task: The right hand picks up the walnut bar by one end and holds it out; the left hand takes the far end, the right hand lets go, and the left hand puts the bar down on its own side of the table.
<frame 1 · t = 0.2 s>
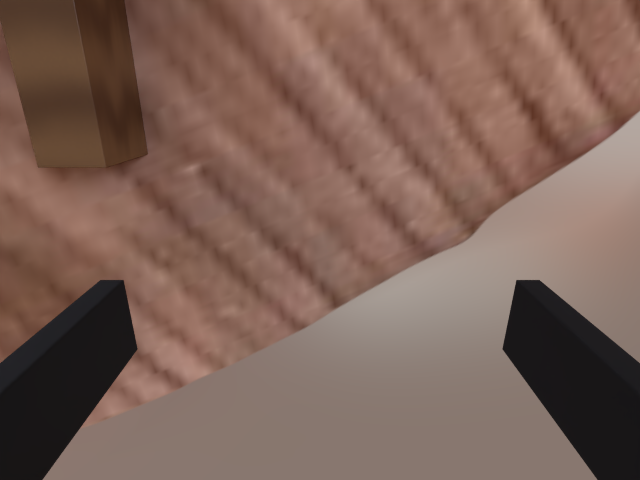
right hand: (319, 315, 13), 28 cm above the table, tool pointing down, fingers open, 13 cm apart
bar: (97, 23, 34), on the table
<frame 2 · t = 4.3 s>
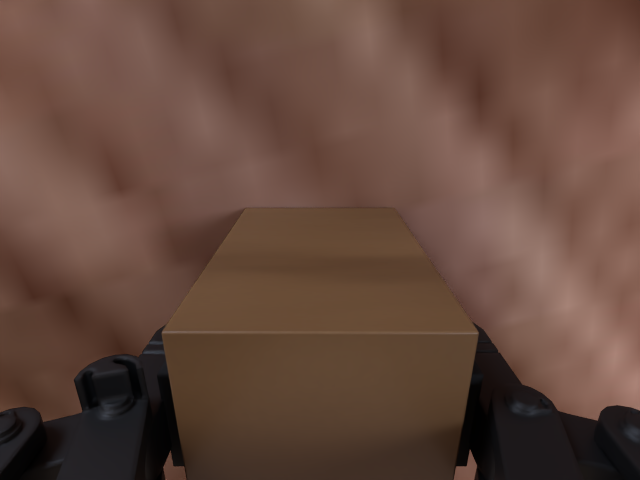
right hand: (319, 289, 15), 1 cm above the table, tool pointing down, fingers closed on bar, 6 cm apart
bar: (320, 442, 18), on the table, touching right hand
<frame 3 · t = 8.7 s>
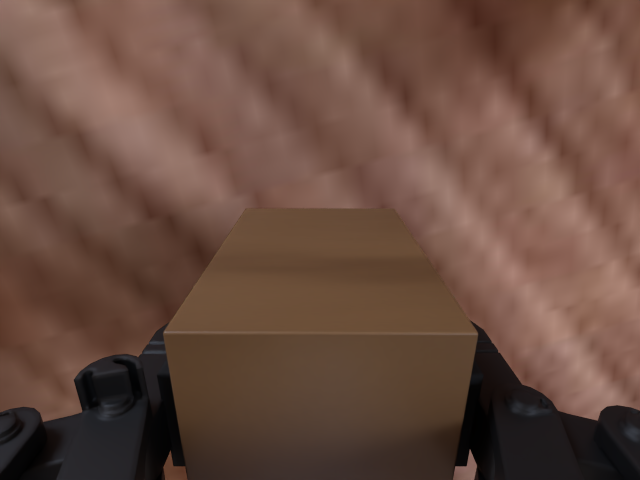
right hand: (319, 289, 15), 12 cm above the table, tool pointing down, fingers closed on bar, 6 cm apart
bar: (319, 442, 18), point 11 cm above the table, touching right hand, left hand
when the right hand's fingers open (12 cm above the table, at t = 9.5 s): bar stays where it is, held by the left hand.
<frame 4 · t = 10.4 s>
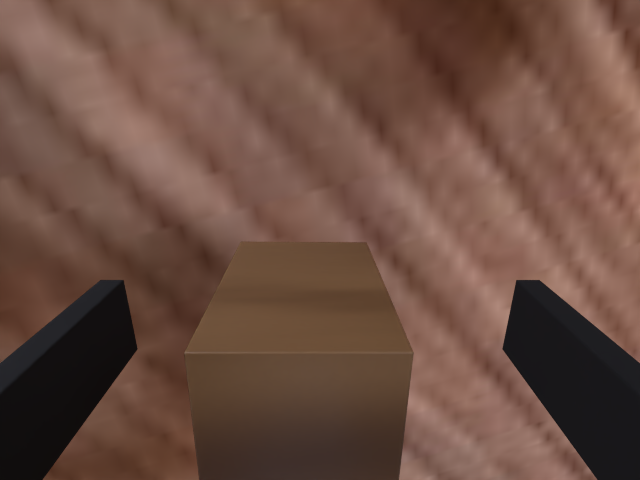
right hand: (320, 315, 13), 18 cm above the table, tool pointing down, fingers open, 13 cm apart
bar: (303, 444, 20), point 14 cm above the table, touching left hand
when the left hand's fingers open (4 cm above the table, at t = 14.2 s): bar stays where it is, on the table.
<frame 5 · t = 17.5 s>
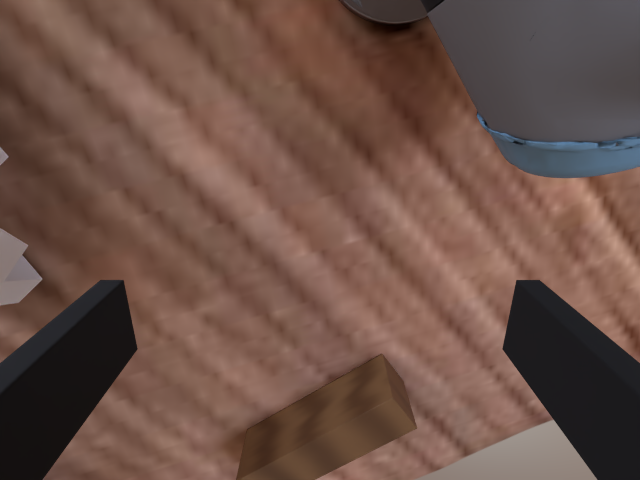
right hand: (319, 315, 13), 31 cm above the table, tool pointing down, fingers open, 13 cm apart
bar: (322, 406, 54), on the table
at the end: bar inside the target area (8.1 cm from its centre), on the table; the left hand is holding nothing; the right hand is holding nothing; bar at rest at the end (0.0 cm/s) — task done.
